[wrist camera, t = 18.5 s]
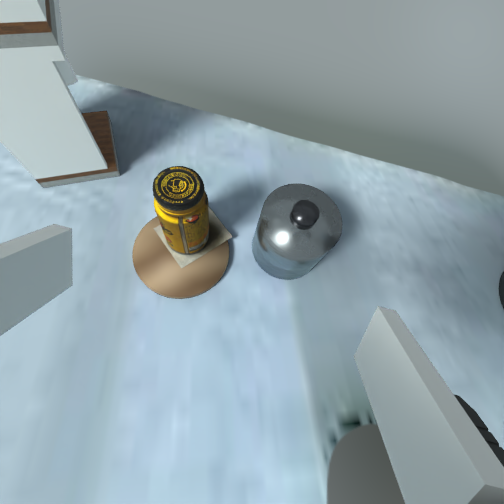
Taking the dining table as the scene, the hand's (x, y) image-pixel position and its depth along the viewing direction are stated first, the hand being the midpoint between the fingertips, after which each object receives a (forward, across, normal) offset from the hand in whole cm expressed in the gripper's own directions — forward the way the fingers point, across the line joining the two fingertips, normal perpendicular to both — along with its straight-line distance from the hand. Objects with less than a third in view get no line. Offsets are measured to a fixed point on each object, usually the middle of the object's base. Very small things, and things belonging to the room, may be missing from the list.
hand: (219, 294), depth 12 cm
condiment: (+28, -8, -8) cm, 30 cm away
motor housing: (+30, +6, -8) cm, 31 cm away
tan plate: (+26, -8, -11) cm, 29 cm away
